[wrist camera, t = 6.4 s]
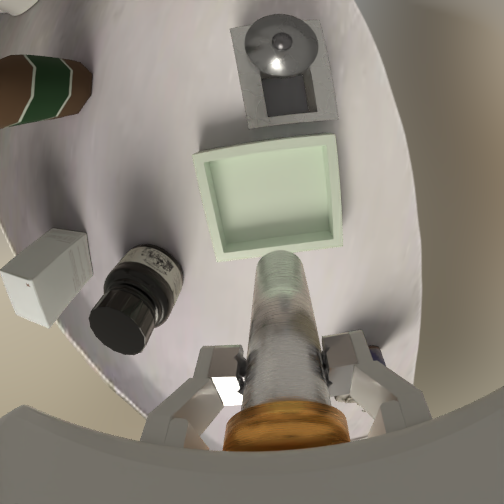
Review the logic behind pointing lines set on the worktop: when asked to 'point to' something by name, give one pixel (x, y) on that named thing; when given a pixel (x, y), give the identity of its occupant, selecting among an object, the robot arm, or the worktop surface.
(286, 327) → the pin
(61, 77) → the beer bottle
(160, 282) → the ink bottle
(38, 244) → the supplement box
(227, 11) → the worktop surface
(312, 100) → the block
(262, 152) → the tray
